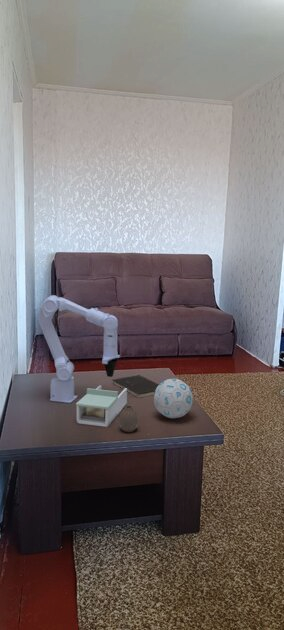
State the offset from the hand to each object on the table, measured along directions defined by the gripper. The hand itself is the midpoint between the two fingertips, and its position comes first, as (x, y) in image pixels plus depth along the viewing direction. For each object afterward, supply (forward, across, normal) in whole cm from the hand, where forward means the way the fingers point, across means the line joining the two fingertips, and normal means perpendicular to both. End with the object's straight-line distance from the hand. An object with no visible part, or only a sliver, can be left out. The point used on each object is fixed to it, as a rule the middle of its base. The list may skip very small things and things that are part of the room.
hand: (110, 376), depth 196 cm
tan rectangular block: (+9, -21, -2) cm, 23 cm away
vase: (+11, -27, -16) cm, 33 cm away
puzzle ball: (+11, -10, -29) cm, 32 cm away
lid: (+4, -21, -2) cm, 21 cm away
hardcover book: (+11, +20, -8) cm, 24 cm away
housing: (+10, -14, -2) cm, 18 cm away
